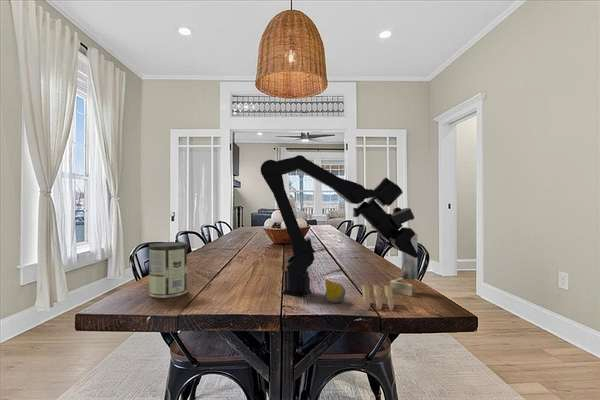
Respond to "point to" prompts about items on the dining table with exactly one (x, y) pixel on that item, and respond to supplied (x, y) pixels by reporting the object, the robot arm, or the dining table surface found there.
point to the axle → (410, 262)
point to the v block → (401, 287)
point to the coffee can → (168, 269)
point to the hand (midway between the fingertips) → (414, 255)
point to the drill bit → (334, 292)
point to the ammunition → (378, 296)
